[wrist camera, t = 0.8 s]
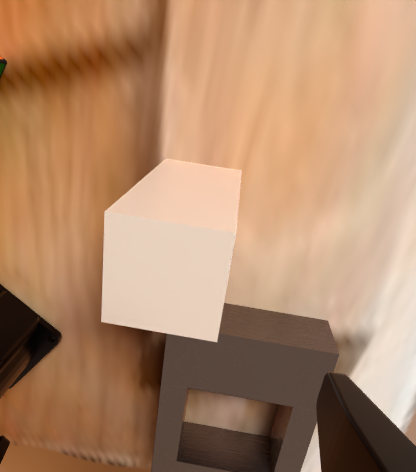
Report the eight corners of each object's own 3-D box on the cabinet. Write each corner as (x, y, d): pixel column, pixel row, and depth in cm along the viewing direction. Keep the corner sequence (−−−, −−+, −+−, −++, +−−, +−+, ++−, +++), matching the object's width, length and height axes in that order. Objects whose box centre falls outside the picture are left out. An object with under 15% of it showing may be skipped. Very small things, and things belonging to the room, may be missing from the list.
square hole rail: (279, 480, 27) (282, 524, 25) (158, 457, 28) (148, 498, 25) (327, 320, 22) (339, 354, 19) (177, 295, 23) (167, 324, 20)
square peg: (229, 240, 21) (217, 342, 13) (159, 229, 21) (101, 321, 13) (241, 170, 19) (236, 232, 11) (165, 158, 20) (104, 211, 11)
